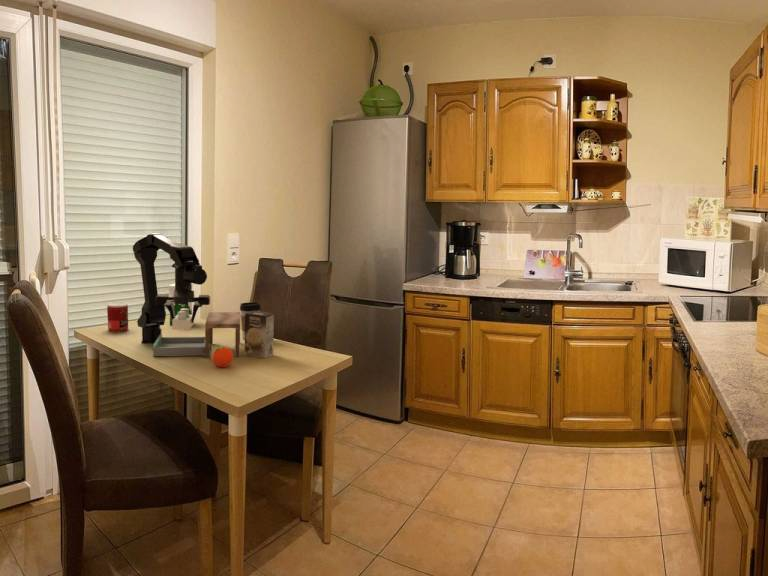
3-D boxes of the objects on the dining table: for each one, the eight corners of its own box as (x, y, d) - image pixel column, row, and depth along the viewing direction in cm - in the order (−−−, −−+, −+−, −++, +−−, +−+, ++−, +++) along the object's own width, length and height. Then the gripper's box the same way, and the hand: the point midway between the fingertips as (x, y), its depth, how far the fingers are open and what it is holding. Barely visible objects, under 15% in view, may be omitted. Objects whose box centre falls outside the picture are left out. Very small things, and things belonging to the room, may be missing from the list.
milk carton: (194, 322, 262) (194, 279, 259) (184, 327, 253) (184, 282, 250) (176, 321, 263) (176, 278, 260) (166, 325, 255) (165, 280, 251)
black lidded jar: (255, 341, 234) (255, 305, 231) (235, 340, 235) (236, 304, 233) (263, 337, 242) (264, 302, 239) (244, 335, 243) (245, 300, 241)
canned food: (123, 332, 239) (122, 306, 238) (104, 331, 239) (103, 305, 238) (131, 328, 247) (131, 303, 245) (113, 327, 247) (112, 302, 245)
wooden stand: (205, 357, 208) (205, 324, 206) (208, 343, 229) (208, 312, 227) (239, 357, 211) (239, 323, 209) (239, 342, 231) (240, 312, 229)
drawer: (153, 356, 206) (153, 345, 206) (159, 344, 222) (159, 334, 221) (205, 355, 211) (205, 344, 210) (208, 344, 226) (208, 334, 225)
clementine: (210, 370, 194) (210, 350, 193) (208, 364, 200) (208, 345, 199) (234, 368, 197) (234, 348, 196) (231, 363, 204) (231, 343, 202)
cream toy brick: (172, 329, 208) (172, 313, 207) (177, 323, 217) (177, 307, 216) (189, 329, 209) (189, 313, 208) (193, 323, 218) (193, 308, 217)
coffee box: (243, 355, 214) (243, 313, 211) (252, 351, 220) (253, 310, 217) (265, 358, 211) (265, 315, 208) (274, 354, 217) (274, 312, 214)
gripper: (152, 284, 201) (152, 327, 203) (208, 285, 205) (208, 327, 207) (157, 279, 211) (157, 320, 214) (210, 280, 216) (210, 320, 218)
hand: (183, 322), depth 213 cm, fingers closed on cream toy brick, 6 cm apart
